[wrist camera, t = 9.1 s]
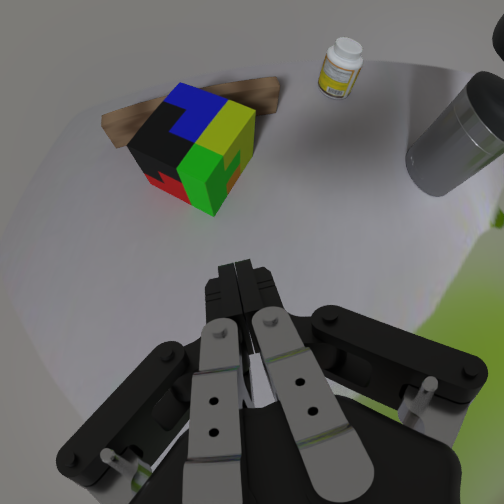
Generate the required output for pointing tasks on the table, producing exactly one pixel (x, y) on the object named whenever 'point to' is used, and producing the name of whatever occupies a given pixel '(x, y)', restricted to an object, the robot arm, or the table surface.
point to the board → (243, 92)
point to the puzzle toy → (195, 146)
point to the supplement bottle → (340, 68)
